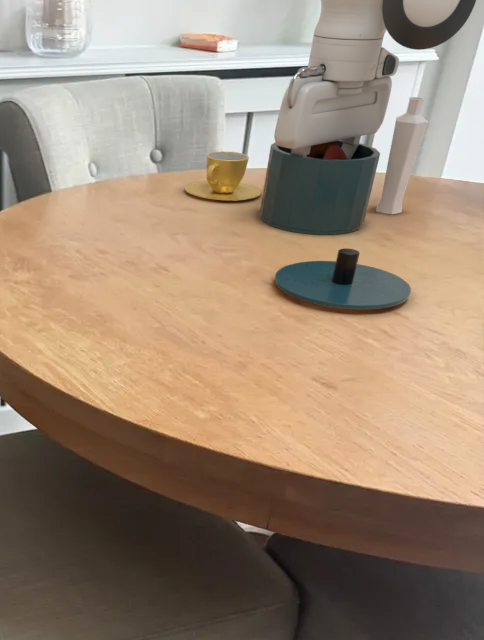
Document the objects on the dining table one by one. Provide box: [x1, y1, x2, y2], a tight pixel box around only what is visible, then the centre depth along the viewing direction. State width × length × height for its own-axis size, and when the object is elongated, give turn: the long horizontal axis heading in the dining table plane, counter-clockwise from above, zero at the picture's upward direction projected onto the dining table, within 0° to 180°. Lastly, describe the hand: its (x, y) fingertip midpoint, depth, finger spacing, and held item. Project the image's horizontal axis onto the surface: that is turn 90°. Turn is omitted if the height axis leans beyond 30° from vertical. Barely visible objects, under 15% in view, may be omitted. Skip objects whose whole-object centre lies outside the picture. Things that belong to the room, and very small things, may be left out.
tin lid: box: [274, 248, 412, 311], centre depth 103 cm, size 16×16×5 cm
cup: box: [184, 150, 262, 201], centre depth 137 cm, size 12×12×5 cm
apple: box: [307, 142, 347, 160], centre depth 123 cm, size 7×8×8 cm
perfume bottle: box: [375, 96, 429, 215], centre depth 128 cm, size 5×4×15 cm
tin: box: [259, 140, 381, 236], centre depth 125 cm, size 15×15×10 cm
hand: (320, 175), depth 124 cm, fingers closed on apple, 8 cm apart
